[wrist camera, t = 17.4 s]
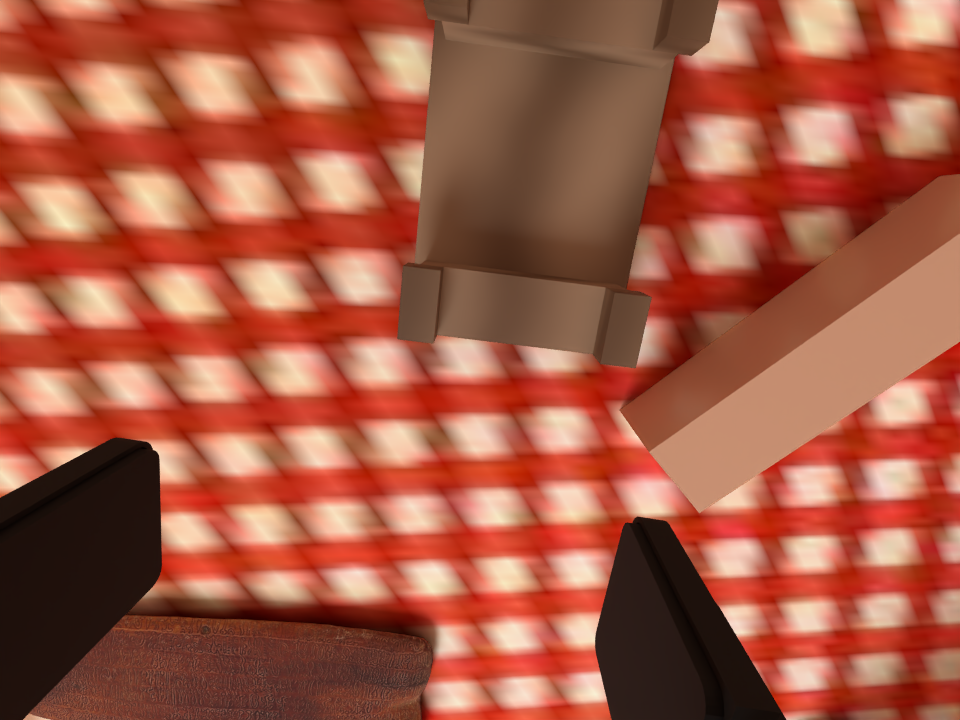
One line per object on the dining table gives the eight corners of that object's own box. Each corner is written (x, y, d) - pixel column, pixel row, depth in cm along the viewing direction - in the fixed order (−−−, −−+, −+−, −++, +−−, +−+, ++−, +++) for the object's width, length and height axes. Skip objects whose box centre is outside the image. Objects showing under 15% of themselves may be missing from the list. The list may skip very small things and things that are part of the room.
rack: (682, -16, 20) (736, -80, 16) (607, 350, 25) (633, 379, 20) (444, -50, 20) (433, -124, 16) (411, 327, 24) (396, 350, 20)
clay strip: (971, 244, 23) (1097, 250, 19) (660, 460, 27) (699, 512, 22) (934, 176, 22) (1056, 165, 18) (618, 408, 26) (649, 451, 21)
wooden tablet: (434, 621, 30) (432, 644, 28) (426, 741, 32) (423, 768, 31) (-8, 590, 29) (-37, 612, 27) (22, 715, 32) (-2, 741, 30)
